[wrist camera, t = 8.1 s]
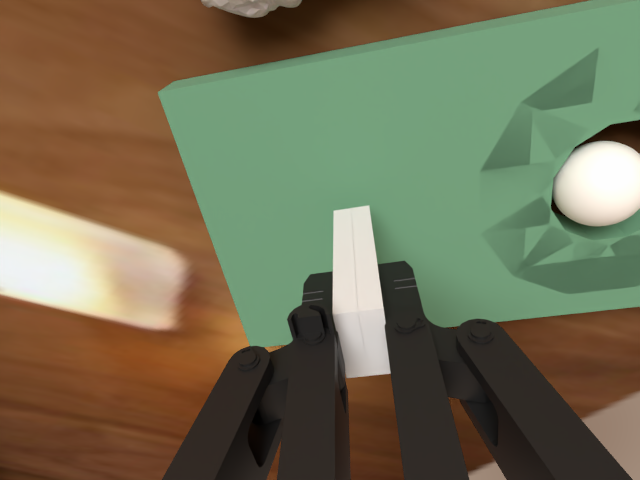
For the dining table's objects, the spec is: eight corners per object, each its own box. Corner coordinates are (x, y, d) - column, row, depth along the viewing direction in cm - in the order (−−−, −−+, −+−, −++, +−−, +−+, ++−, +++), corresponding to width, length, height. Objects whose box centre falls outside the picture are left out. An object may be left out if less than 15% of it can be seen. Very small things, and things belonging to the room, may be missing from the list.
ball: (541, 203, 22) (556, 244, 19) (547, 133, 20) (565, 165, 17) (625, 199, 21) (655, 241, 18) (640, 124, 19) (676, 157, 16)
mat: (257, 323, 26) (242, 382, 23) (173, 81, 19) (133, 108, 15) (726, 269, 23) (801, 328, 19) (835, -48, 16) (988, -52, 12)
